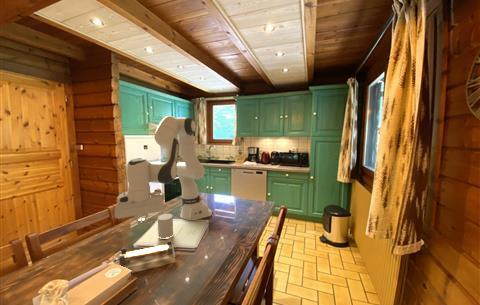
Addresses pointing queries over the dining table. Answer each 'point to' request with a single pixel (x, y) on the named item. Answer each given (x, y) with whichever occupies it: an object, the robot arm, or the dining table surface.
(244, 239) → the dining table surface
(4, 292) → the dining table surface
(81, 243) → the dining table surface
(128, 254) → the brown wooden bar
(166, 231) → the cup
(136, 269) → the latch board
